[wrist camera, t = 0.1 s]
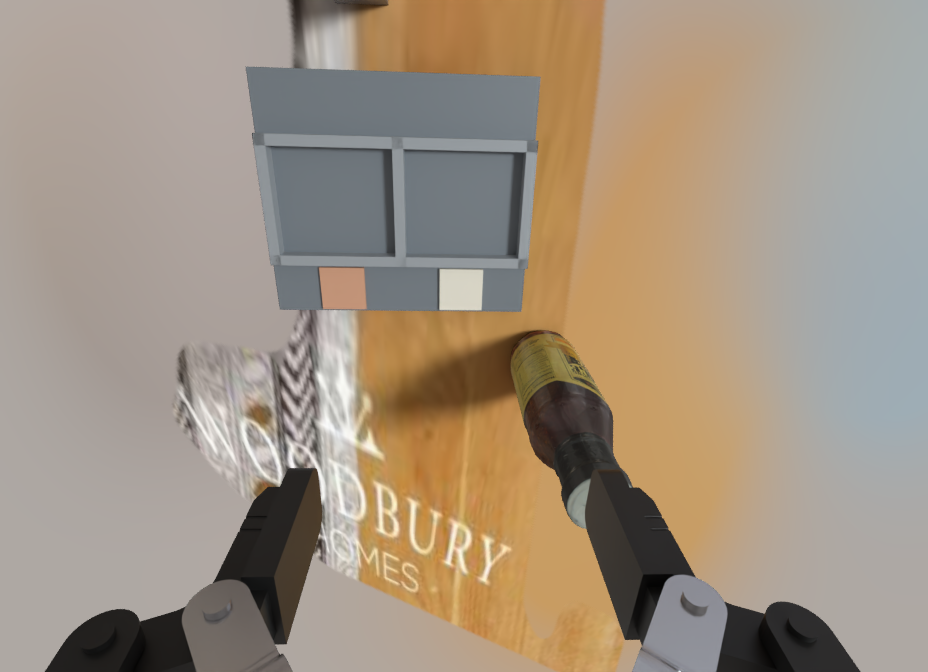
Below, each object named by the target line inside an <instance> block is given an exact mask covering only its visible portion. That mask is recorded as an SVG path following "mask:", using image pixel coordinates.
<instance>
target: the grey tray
mask: <svg viewBox="0 0 928 672" xmlns="http://www.w3.org/2000/svg"><path fill="white" fill-rule="evenodd" d="M246 72H247V79H248V87H249V93H250V101H251V108H252V115H253V122H254V129H255V133H252V138H253V145H254V151H255V158H256V165H257V172H258V179H259V186H260V192H261V200H262V207H263V214H264V221H265V228H266V235H267V242H268V249H269V256H270V263H271V265H274V271H275V278H276V285H277V292H278V299H279V306H280V309H283V310H288V309H289V310H394V311H506V312H521V308H522V296H523V284H524V272H525V269H527V268H528V256H529V245H530V233H531V221H532V209H533V197H534V185H535V173H536V161H537V150H538V141H536V140H535V137H536V125H537V113H538V101H539V88H540V77H531V76H502V75H473V74H444V73H415V72H386V71H357V70H328V69H299V68H269V67H246Z"/></svg>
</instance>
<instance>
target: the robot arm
mask: <svg viewBox="0 0 928 672" xmlns="http://www.w3.org/2000/svg"><path fill="white" fill-rule="evenodd" d="M321 522H322V505H321V496H320V487H319V479H318V472H317V469H316V468H289V469H288V471H287V472H286V475H285V477H284V479H283V481H282V484H281V486H280V487H268V488H266V489H265V490H264V491H263V492H262V493H261V494H260V495H259V496H258V497H257V498H256V499H255V500H254V501H253V503H252V505H251V507H250V509H249V512H248V513H247V516H246V519H245V520H244V522H243V524H242V526H241V528H240V532H238V534H237V536H236V538H235V540H234V542H233V544H232V546H231V548H230V550H229V552H228V554H227V556H226V558H225V561H224V563H223V564H222V566H221V569H220V571H219V573H218V575H217V577H216V579H215V580H214V582H213V584H210V585H208V586H207V587H205V588H203V589H202V590H200V591H199V592H198V593H197V594H196V595H194V596H193V597H192V599H191V600H190V601H189V602H188V604H187V606H186V607H184V608H182V609H180V610H177V611H174V612H171V613H168V614H165V615H161V616H158V617H154V618H151V619H148V620H144V621H141V622H140V621H139V618H138V617H137V615H136V614H135V613H134V612H132V611H130V610H125V609H116V610H111V611H107V612H104V613H101V614H99V615H97V616H95V617H92V618H91V619H89V620H87V621H86V622H84V623H83V624H82V625H81V626H79V627H78V628H77V629H76V630H75V631H73V632H72V633H71V635H70V636H69V637H68V638H67V639H66V641H65V642H64V643H63V645H62V646H61V648H60V649H59V651H58V652H57V654H56V655H55V657H54V659H53V660H52V662H51V663H50V665H49V666H48V668H47V669H46V671H45V672H292V669H291V667H290V665H289V663H288V661H287V659H286V658H285V656H284V655H283V654H281V655H280V654H279V652H278V650H277V648H276V646H275V644H287V640H288V637H289V634H290V631H291V627H292V624H293V620H294V617H295V613H296V610H297V607H298V603H299V600H300V596H301V593H302V590H303V586H304V583H305V580H306V576H307V573H308V570H309V566H310V563H311V559H312V556H313V553H314V549H315V546H316V543H317V539H318V536H319V532H320V528H321ZM585 523H586V528H587V532H588V535H589V538H590V541H591V543H592V546H593V549H594V552H595V555H596V558H597V561H598V564H599V566H600V569H601V572H602V575H603V578H604V581H605V584H606V586H607V589H608V592H609V595H610V598H611V601H612V604H613V606H614V609H615V612H616V615H617V618H618V621H619V624H620V627H621V629H622V632H623V635H624V638H625V640H640V641H641V644H642V647H641V649H640V651H639V654H638V657H637V660H636V662H635V666H634V668H633V671H632V672H860V671H859V669H858V668H857V667H856V665H855V663H854V662H853V660H852V659H851V658H850V656H849V655H848V653H847V652H846V650H845V649H844V647H843V646H842V645H841V643H840V642H839V641H838V639H837V638H836V636H835V635H834V633H833V632H832V631H831V629H830V628H829V627H828V626H827V624H826V623H825V622H824V621H823V620H821V619H820V618H819V617H818V616H816V615H815V614H814V613H812V612H810V611H809V610H807V609H805V608H803V607H801V606H799V605H796V604H793V603H789V602H776V603H773V604H771V605H770V606H769V607H768V608H767V610H766V613H765V614H763V613H759V612H756V611H752V610H749V609H745V608H741V607H738V606H734V605H731V604H729V603H726V602H724V601H723V599H722V597H721V596H720V595H719V594H718V592H717V591H716V590H715V589H714V588H712V587H711V586H710V585H709V584H707V583H706V582H704V581H702V580H700V579H698V578H696V577H695V575H694V573H693V572H692V570H691V568H690V566H689V564H688V563H687V561H686V559H685V557H684V555H683V553H682V552H681V550H680V548H679V546H678V544H677V543H676V541H675V539H674V537H673V535H672V533H671V532H670V531H669V530H668V526H667V525H666V523H665V521H664V519H662V515H661V513H660V512H659V510H658V508H657V506H656V504H655V503H654V501H653V500H652V499H651V498H650V497H649V496H648V495H647V494H646V493H645V492H643V491H642V490H641V489H640V488H630V487H629V485H628V483H627V481H626V479H625V477H624V475H623V473H622V471H621V470H593V472H592V475H591V480H590V485H589V491H588V496H587V501H586V507H585Z"/></svg>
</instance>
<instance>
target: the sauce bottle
mask: <svg viewBox="0 0 928 672" xmlns="http://www.w3.org/2000/svg"><path fill="white" fill-rule="evenodd" d="M511 374H512V378H513V382H514V386H515V390H516V394H517V398H518V402H519V406H520V410H521V413H522V417H523V421H524V425H525V428H526V429H527V432H528V435H529V439H530V443H531V446H532V448H533V450H534V452H535V455H536V456H537V457H538V458H539V459H540V460H541V461H542V462H543V463H544V464H546V465H547V466H548V467H550V468H552V469H554V470H555V472H556V474H557V476H558V477H559V479H560V482H561V485H562V491H561V496H562V501H563V502H564V506H565V509H566V511H567V514H568V516H569V517H570V519H571V520H572V521H573V522H574V523H575V524H576V525H578V526H579V527H581V528H585V529H587V528H586V523H585V507H586V501H587V496H588V491H589V485H590V480H591V475H592V472H593V470H621V471H622V473H623V475H624V477H625V479H626V481H627V483H628V485H629V487H630V488H633V487H632V484H631V482H630V479H629V477H628V475H627V474H626V473H625V472H624V471H623V470H622V469H621V468H620V467H619V465H618V463H617V461H616V459H615V457H614V454H613V416H612V412H611V410H610V408H609V406H608V404H607V403H606V401H605V399H604V398H603V396H602V394H601V392H600V391H599V389H598V387H597V386H596V384H595V382H594V380H593V379H592V377H591V375H590V374H589V372H588V370H587V369H586V367H585V365H584V364H583V362H582V360H581V359H580V357H579V355H578V354H577V352H576V350H575V348H574V347H573V346H572V344H571V343H570V342H568V341H567V340H566V339H565V338H563V337H562V336H561V335H560V334H558V333H556V332H551V331H535V332H532V333H530V334H528V335H526V336H525V337H524V338H522V339H521V340H520V341H519V342H518V343H517V345H516V346H515V347H514V348H513V350H512V353H511Z"/></svg>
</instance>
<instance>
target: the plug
mask: <svg viewBox="0 0 928 672" xmlns="http://www.w3.org/2000/svg"><path fill="white" fill-rule="evenodd" d="M334 1H335V2H336V3H349V4H373V5H388V0H334Z"/></svg>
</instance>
